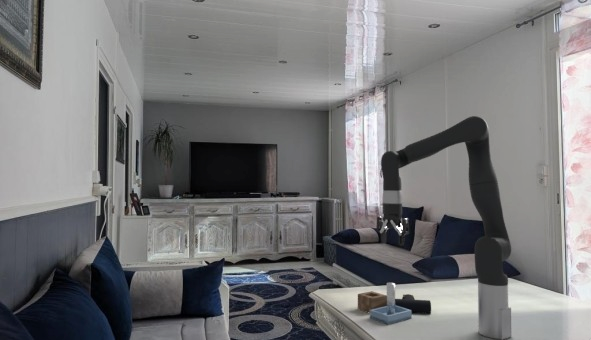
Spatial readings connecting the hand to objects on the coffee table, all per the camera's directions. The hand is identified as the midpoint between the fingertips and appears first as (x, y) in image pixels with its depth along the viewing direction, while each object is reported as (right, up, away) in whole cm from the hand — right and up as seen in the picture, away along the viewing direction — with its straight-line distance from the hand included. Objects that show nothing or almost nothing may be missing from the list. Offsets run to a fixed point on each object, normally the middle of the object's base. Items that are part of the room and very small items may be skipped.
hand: (392, 244), depth 157 cm
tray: (-2, -27, -4) cm, 28 cm away
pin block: (-7, -28, +6) cm, 29 cm away
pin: (-2, -26, -4) cm, 27 cm away
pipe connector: (+9, -29, +8) cm, 31 cm away
